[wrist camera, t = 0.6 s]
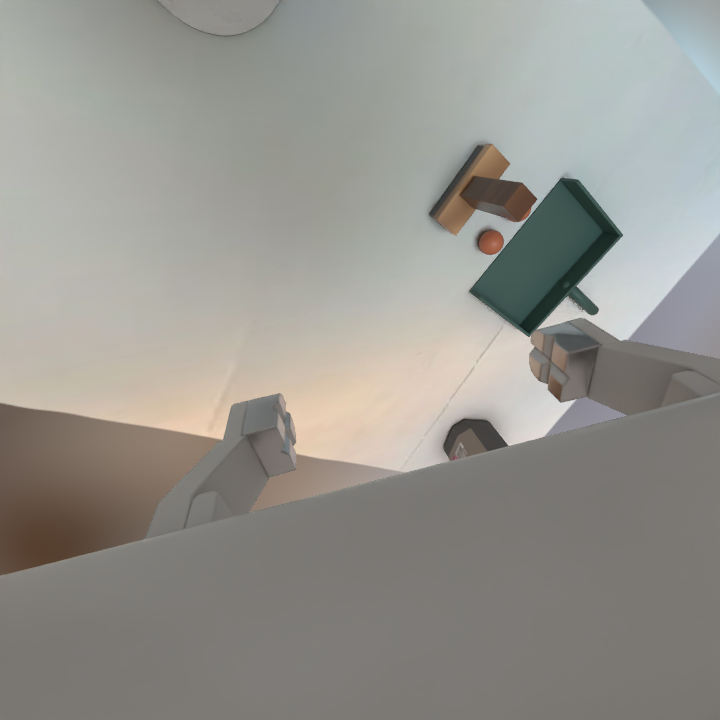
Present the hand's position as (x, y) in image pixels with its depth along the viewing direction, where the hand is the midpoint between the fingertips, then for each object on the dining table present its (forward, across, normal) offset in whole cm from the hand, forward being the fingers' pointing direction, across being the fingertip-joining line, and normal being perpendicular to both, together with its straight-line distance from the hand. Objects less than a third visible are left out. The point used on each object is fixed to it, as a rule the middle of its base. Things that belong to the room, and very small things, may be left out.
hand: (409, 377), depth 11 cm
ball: (+40, -21, +10) cm, 46 cm away
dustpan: (+40, -32, +19) cm, 55 cm away
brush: (+39, -18, +3) cm, 43 cm away
